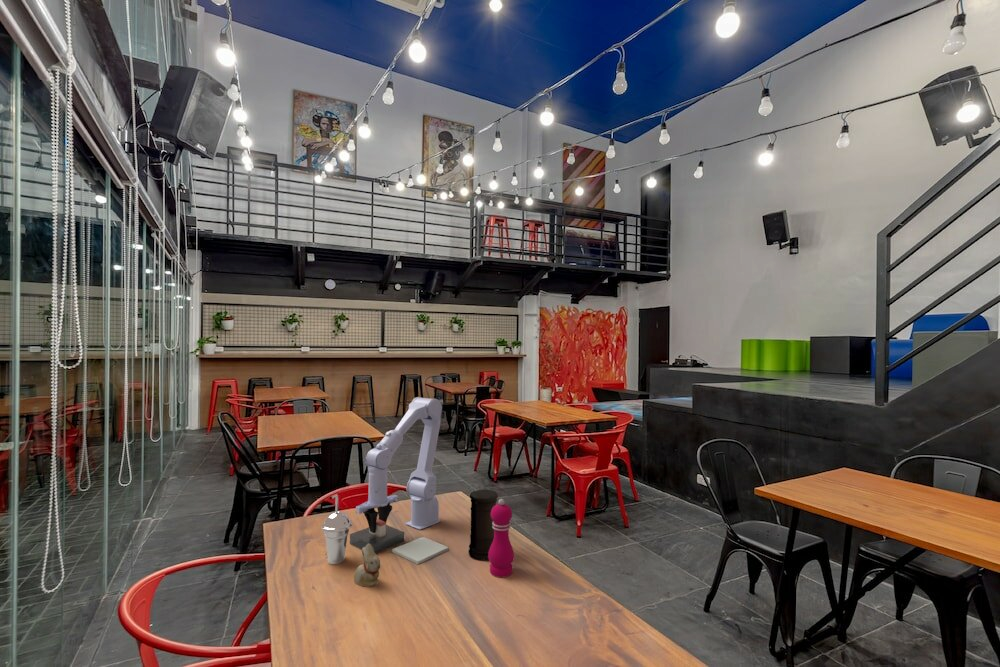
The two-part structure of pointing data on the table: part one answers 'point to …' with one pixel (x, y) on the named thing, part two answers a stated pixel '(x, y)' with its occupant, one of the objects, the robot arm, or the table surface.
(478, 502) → the container
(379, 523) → the pink topped brick
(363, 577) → the chocolate bunny
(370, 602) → the table surface
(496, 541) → the pepper mill
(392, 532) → the grey plate with slot
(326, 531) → the cup with straw
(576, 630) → the table surface
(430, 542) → the pad
